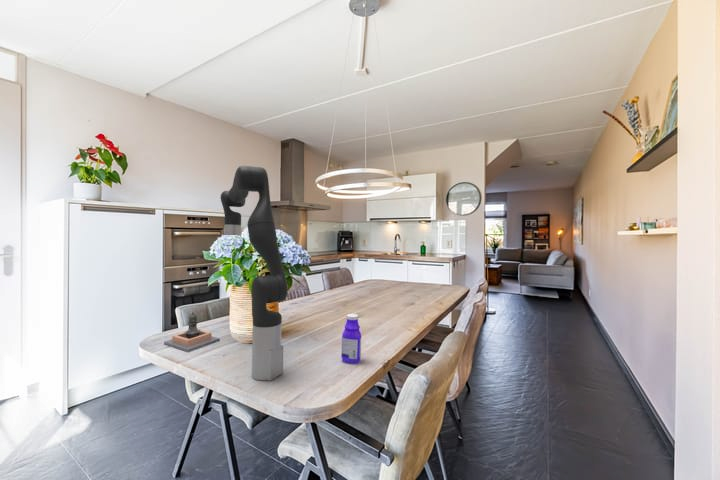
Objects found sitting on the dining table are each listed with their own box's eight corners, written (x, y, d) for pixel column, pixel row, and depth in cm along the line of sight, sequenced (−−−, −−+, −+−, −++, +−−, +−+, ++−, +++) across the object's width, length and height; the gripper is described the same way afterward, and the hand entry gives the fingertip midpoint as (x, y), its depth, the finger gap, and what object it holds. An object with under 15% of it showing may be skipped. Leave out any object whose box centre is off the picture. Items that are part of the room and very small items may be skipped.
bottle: (362, 359, 110) (363, 314, 110) (358, 365, 105) (359, 318, 105) (344, 356, 113) (345, 312, 112) (339, 362, 107) (340, 316, 107)
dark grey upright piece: (193, 343, 119) (193, 314, 119) (180, 341, 120) (181, 313, 120) (203, 338, 125) (204, 310, 125) (191, 337, 126) (192, 309, 126)
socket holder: (219, 340, 125) (219, 332, 125) (187, 352, 113) (188, 343, 113) (195, 334, 132) (196, 326, 132) (163, 344, 120) (163, 336, 120)
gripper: (225, 234, 126) (224, 271, 126) (250, 234, 139) (250, 268, 139) (213, 234, 129) (213, 270, 129) (239, 234, 142) (238, 267, 142)
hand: (232, 269), depth 134 cm, fingers open, 8 cm apart
